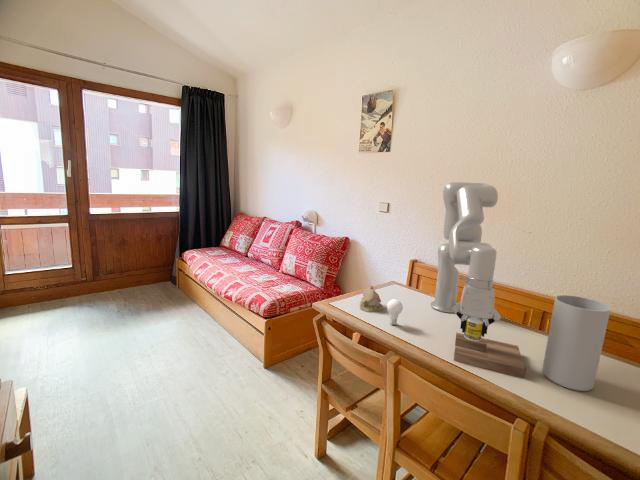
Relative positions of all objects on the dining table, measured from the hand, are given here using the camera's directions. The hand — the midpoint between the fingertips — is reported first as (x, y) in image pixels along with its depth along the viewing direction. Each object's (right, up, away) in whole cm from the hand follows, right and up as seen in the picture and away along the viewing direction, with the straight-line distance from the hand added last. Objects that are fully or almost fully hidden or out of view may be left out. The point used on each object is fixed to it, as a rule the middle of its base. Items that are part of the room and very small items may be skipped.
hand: (472, 332), depth 107 cm
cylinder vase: (+23, -11, -12) cm, 28 cm away
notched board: (+4, -8, -1) cm, 9 cm away
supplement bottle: (0, -2, 0) cm, 2 cm away
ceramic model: (-29, 0, +40) cm, 50 cm away
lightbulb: (-23, -3, +22) cm, 31 cm away
